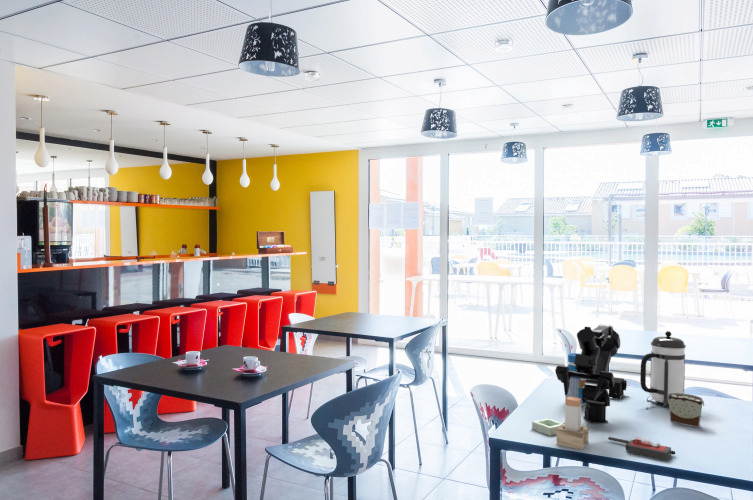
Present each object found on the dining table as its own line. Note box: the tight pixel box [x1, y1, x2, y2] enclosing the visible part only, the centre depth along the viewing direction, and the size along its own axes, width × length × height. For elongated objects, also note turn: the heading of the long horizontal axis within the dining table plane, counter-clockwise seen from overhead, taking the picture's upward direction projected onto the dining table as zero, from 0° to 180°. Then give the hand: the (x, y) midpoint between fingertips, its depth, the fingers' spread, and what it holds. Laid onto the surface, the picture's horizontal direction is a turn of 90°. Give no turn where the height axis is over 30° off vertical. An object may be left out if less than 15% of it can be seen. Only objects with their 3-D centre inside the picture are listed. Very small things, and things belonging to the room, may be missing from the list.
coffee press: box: [640, 330, 687, 408], centre depth 235 cm, size 17×16×30 cm
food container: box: [667, 393, 705, 428], centre depth 210 cm, size 12×6×10 cm, turn 47°
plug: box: [564, 397, 582, 432], centre depth 184 cm, size 4×4×11 cm
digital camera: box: [608, 376, 628, 400], centre depth 247 cm, size 10×5×7 cm, turn 147°
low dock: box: [531, 418, 564, 436], centre depth 197 cm, size 8×8×3 cm
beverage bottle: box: [565, 352, 586, 406], centre depth 233 cm, size 8×8×20 cm
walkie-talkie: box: [607, 436, 676, 462], centre depth 179 cm, size 9×4×20 cm
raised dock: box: [555, 422, 590, 450], centre depth 184 cm, size 8×8×5 cm
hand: (579, 397), depth 190 cm, fingers open, 9 cm apart
